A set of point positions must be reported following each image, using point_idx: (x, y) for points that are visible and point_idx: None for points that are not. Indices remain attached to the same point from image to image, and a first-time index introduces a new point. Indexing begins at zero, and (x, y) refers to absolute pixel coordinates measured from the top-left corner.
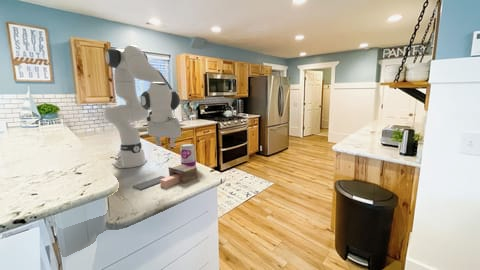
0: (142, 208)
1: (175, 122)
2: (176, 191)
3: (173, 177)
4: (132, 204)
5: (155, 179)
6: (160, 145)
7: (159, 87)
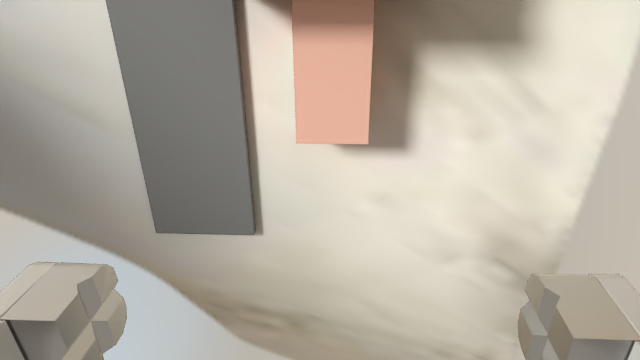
0: (476, 333)
1: None
2: (497, 129)
3: (358, 45)
4: (392, 333)
5: (156, 78)
6: (112, 287)
7: None
